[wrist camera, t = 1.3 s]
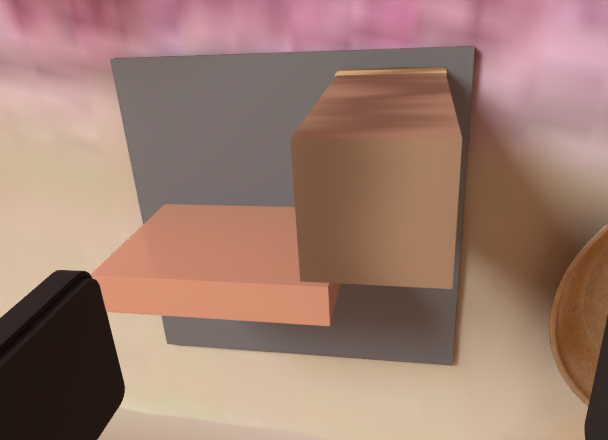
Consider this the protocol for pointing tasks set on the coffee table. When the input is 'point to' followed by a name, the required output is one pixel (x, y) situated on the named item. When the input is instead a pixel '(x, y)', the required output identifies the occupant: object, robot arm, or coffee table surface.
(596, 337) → the plant saucer
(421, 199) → the block
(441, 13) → the coffee table surface
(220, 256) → the tile
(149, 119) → the mat
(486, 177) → the coffee table surface
